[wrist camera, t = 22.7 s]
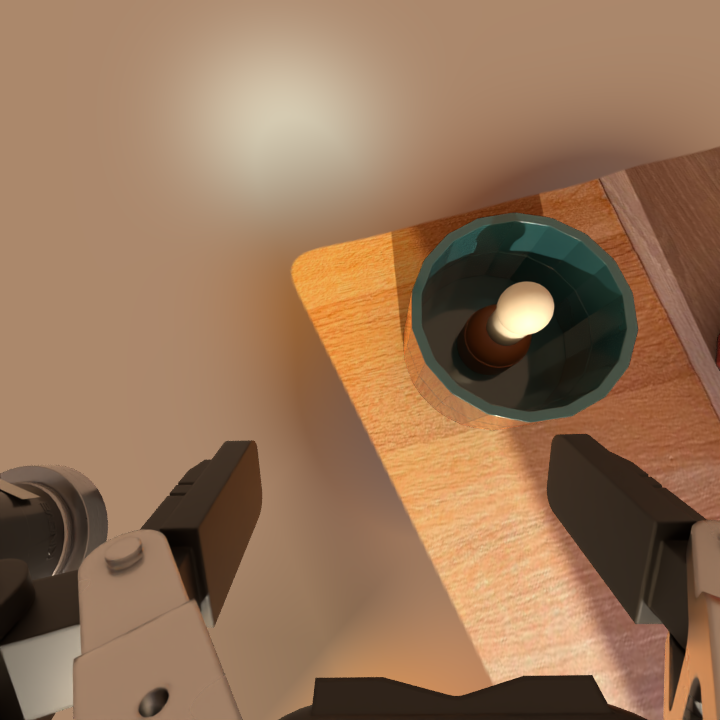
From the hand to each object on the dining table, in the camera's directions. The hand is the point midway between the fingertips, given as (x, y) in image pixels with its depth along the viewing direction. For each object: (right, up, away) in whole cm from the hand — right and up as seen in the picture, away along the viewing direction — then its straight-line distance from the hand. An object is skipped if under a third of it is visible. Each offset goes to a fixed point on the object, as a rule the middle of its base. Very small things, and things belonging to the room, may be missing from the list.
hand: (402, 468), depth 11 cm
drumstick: (+10, +4, +23) cm, 25 cm away
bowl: (+10, +4, +24) cm, 26 cm away
